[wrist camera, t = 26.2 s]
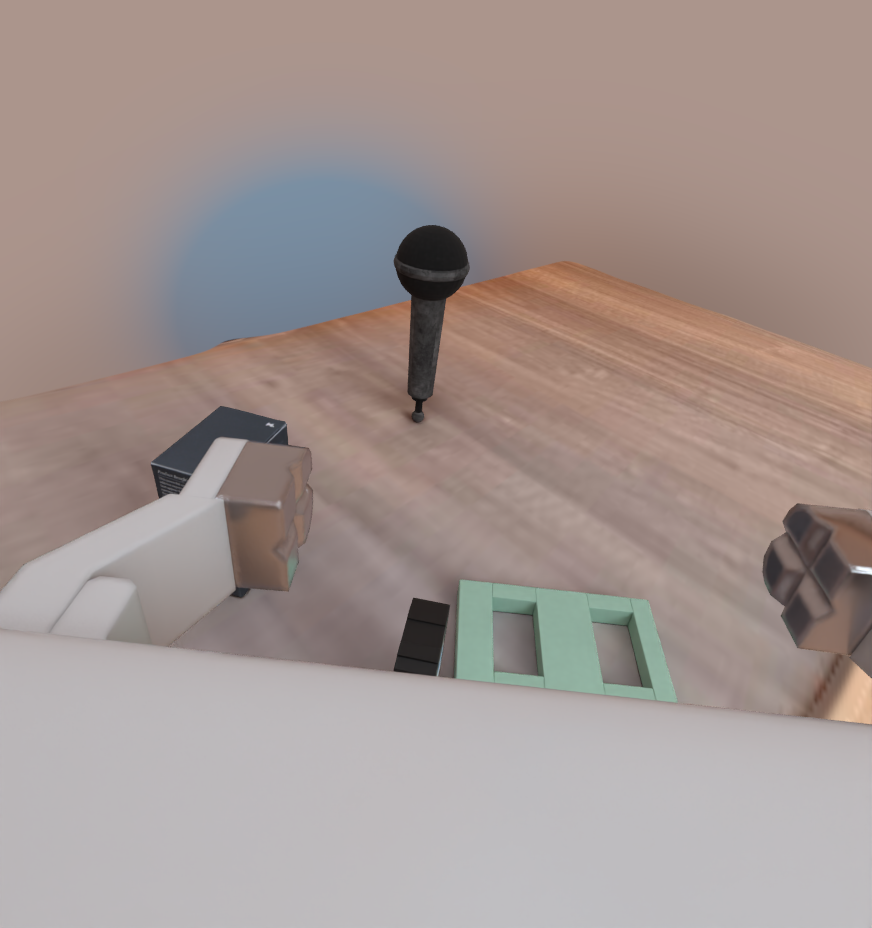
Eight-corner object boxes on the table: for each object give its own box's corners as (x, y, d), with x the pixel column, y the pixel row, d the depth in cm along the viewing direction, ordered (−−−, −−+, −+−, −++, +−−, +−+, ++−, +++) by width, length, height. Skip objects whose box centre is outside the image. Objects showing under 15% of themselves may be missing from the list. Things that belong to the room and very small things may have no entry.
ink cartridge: (424, 759, 35) (437, 676, 31) (386, 751, 36) (393, 666, 31) (439, 686, 39) (452, 602, 35) (404, 678, 40) (413, 594, 35)
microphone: (421, 447, 61) (441, 243, 49) (371, 420, 64) (379, 222, 53) (462, 422, 66) (490, 230, 54) (414, 398, 69) (430, 211, 57)
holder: (452, 699, 39) (455, 685, 38) (457, 592, 46) (459, 578, 45) (672, 724, 39) (680, 710, 38) (642, 613, 46) (648, 599, 45)
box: (234, 513, 51) (220, 402, 45) (296, 532, 50) (290, 421, 43) (173, 578, 45) (147, 460, 38) (242, 601, 43) (226, 483, 37)
